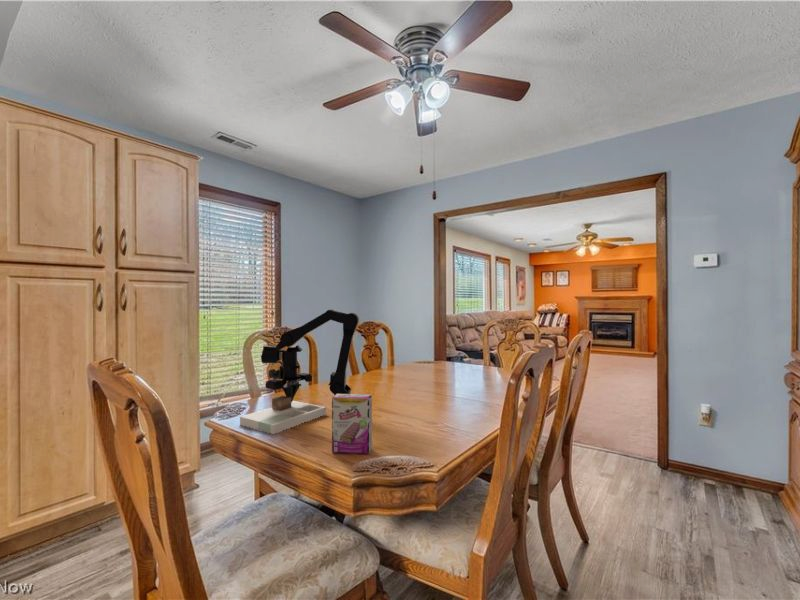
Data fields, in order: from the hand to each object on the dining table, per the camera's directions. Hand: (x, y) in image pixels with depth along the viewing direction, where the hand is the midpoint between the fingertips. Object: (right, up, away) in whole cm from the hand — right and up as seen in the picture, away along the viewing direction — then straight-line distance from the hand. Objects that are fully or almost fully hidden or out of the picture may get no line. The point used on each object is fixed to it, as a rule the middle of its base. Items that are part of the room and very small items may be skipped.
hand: (289, 402), depth 150 cm
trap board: (0, -4, -8) cm, 9 cm away
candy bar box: (+29, -4, -38) cm, 48 cm away
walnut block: (-2, -1, -4) cm, 4 cm away
